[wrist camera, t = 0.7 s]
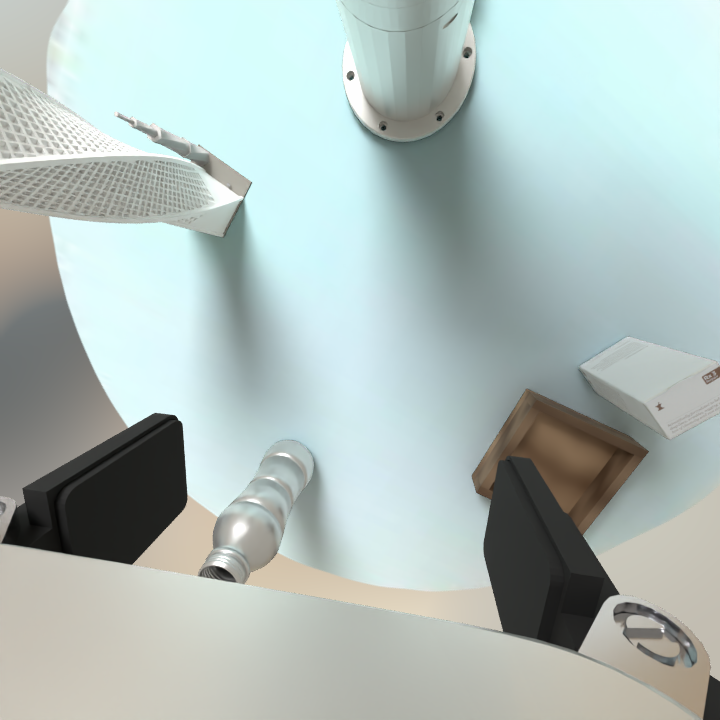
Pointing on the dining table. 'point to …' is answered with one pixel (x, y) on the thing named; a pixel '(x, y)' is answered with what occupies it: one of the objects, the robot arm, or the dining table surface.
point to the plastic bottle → (259, 514)
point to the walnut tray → (563, 455)
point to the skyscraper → (106, 169)
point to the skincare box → (656, 384)
